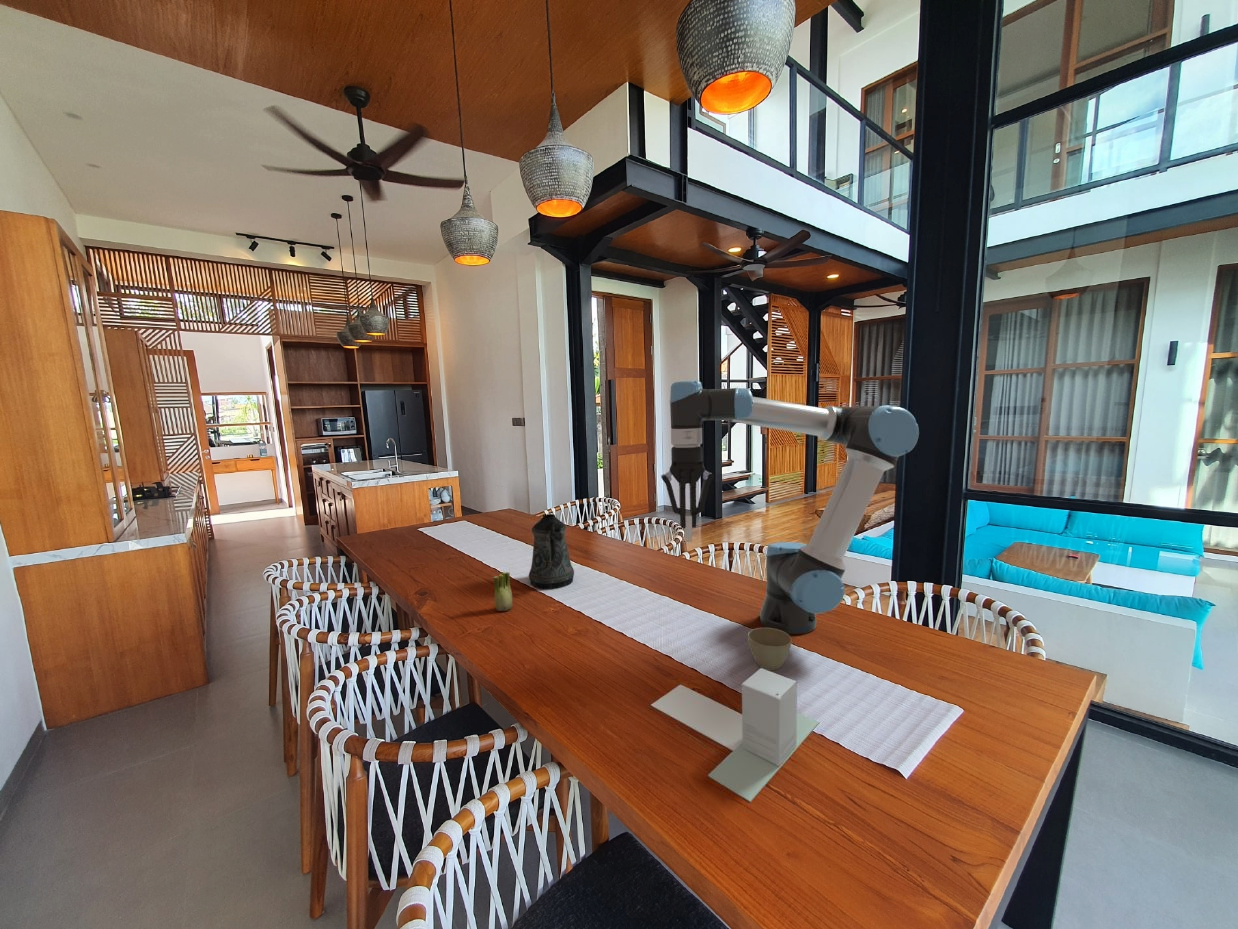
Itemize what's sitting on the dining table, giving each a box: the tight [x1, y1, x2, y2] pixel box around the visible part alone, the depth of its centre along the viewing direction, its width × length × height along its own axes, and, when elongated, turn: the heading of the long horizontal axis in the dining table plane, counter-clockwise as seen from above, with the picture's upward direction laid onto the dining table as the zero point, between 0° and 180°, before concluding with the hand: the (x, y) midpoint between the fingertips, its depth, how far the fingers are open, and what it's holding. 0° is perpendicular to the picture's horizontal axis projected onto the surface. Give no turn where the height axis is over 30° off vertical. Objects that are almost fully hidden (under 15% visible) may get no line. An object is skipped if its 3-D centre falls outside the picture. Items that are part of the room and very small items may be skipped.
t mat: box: [650, 684, 820, 803], centre depth 95 cm, size 28×26×1 cm
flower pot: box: [747, 627, 793, 671], centre depth 115 cm, size 10×10×7 cm
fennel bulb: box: [493, 571, 513, 612], centre depth 152 cm, size 6×5×12 cm
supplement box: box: [741, 667, 798, 766], centre depth 87 cm, size 7×7×13 cm
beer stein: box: [528, 513, 575, 591], centre depth 174 cm, size 16×19×25 cm
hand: (688, 540), depth 119 cm, fingers closed
